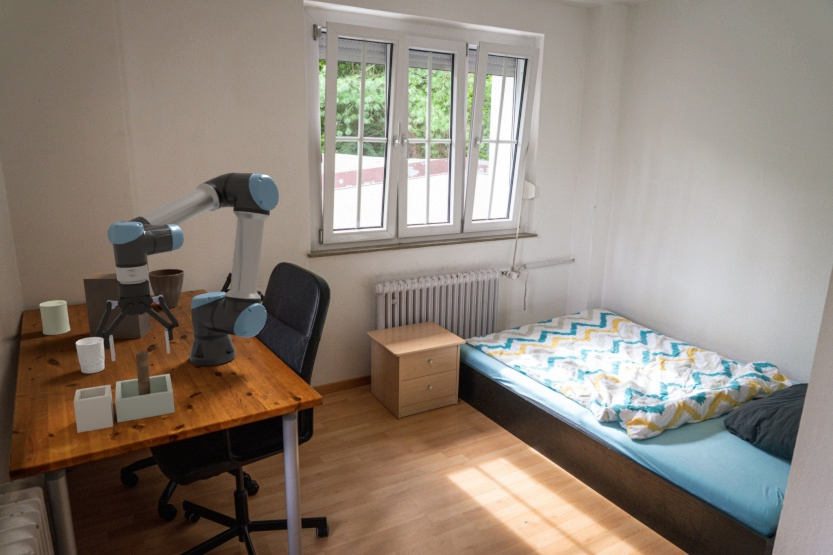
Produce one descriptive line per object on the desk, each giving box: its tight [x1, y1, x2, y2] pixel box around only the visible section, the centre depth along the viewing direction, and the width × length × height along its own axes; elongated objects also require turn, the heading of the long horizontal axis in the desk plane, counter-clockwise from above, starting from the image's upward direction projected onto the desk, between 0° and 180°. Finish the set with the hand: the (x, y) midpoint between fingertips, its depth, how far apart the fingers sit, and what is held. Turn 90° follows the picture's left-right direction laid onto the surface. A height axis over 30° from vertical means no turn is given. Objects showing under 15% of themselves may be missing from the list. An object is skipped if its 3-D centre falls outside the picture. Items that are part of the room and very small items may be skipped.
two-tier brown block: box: [82, 259, 152, 339], centre depth 221 cm, size 19×14×35 cm
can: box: [38, 299, 71, 336], centre depth 223 cm, size 9×9×12 cm
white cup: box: [75, 336, 106, 374], centre depth 186 cm, size 8×8×10 cm
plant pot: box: [148, 268, 185, 309], centre depth 259 cm, size 15×15×16 cm
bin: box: [114, 373, 175, 423], centre depth 159 cm, size 14×14×7 cm
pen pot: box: [73, 384, 115, 434], centre depth 149 cm, size 8×8×10 cm
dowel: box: [135, 350, 151, 396], centre depth 158 cm, size 3×3×16 cm
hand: (141, 355), depth 156 cm, fingers open, 13 cm apart
